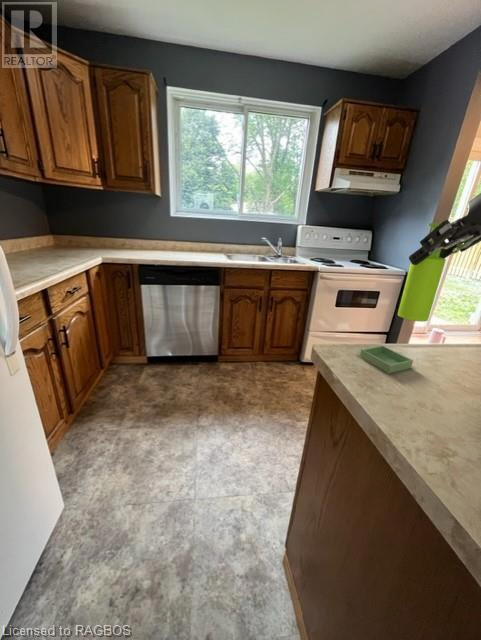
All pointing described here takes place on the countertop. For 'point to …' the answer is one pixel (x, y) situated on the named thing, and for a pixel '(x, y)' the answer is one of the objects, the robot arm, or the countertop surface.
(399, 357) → the green tray
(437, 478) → the countertop surface
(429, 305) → the soap dispenser
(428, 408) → the countertop surface
